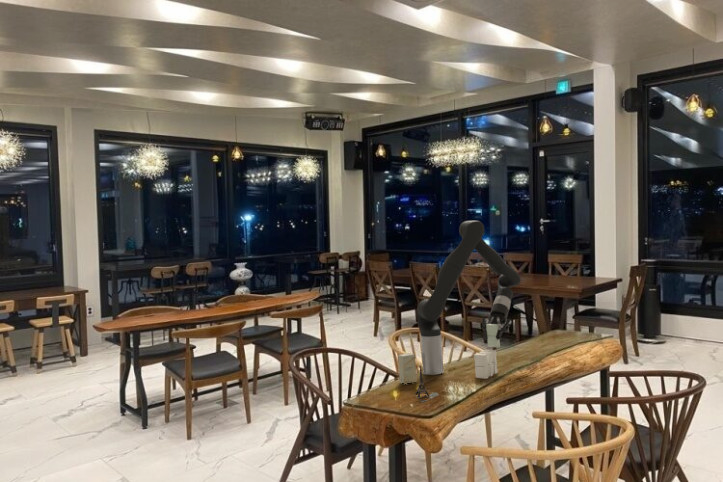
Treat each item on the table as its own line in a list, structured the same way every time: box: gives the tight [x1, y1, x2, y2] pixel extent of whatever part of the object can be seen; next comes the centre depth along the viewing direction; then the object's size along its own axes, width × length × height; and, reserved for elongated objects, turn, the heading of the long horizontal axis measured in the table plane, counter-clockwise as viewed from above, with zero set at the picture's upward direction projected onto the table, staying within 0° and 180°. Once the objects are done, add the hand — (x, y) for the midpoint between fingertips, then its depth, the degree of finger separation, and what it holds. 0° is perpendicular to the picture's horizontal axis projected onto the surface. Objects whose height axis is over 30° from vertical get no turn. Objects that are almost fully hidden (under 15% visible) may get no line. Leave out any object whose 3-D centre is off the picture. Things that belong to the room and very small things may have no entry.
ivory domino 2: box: [478, 351, 494, 377], centre depth 245 cm, size 2×5×10 cm, turn 52°
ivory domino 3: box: [483, 349, 498, 375], centre depth 248 cm, size 2×5×10 cm, turn 52°
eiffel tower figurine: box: [414, 364, 439, 403], centre depth 220 cm, size 15×10×13 cm
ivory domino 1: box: [473, 353, 490, 379], centre depth 241 cm, size 2×5×10 cm, turn 52°
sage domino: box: [486, 323, 501, 348], centre depth 252 cm, size 2×5×10 cm, turn 52°
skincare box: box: [397, 352, 418, 385], centre depth 242 cm, size 6×4×12 cm
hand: (491, 338), depth 251 cm, fingers closed on sage domino, 5 cm apart
